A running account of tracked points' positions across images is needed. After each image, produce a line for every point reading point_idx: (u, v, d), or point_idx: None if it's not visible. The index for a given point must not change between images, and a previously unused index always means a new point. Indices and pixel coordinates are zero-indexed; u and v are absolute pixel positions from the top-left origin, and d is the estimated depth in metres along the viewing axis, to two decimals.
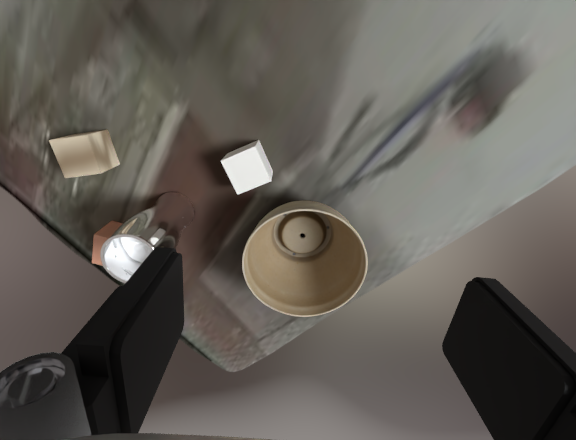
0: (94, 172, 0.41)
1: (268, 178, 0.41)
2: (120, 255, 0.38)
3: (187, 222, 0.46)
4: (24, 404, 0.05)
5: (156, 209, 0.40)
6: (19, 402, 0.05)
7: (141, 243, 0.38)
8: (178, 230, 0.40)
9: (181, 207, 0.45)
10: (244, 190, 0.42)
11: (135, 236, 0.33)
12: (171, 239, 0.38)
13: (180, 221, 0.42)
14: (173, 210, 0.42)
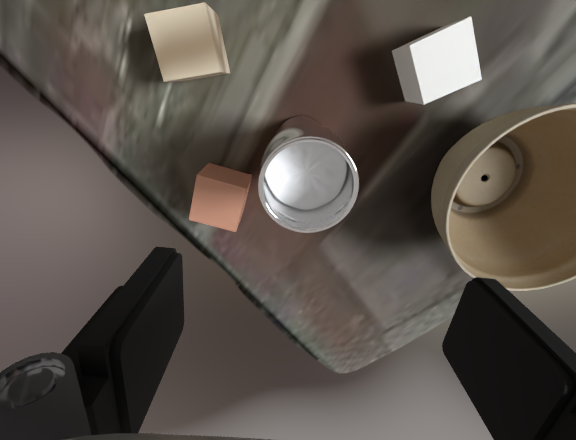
0: (209, 70, 0.26)
1: (478, 74, 0.26)
2: (266, 191, 0.24)
3: None
4: (24, 404, 0.05)
5: None
6: (19, 402, 0.05)
7: (300, 171, 0.23)
8: None
9: None
10: (436, 96, 0.27)
11: (328, 140, 0.19)
12: None
13: None
14: None
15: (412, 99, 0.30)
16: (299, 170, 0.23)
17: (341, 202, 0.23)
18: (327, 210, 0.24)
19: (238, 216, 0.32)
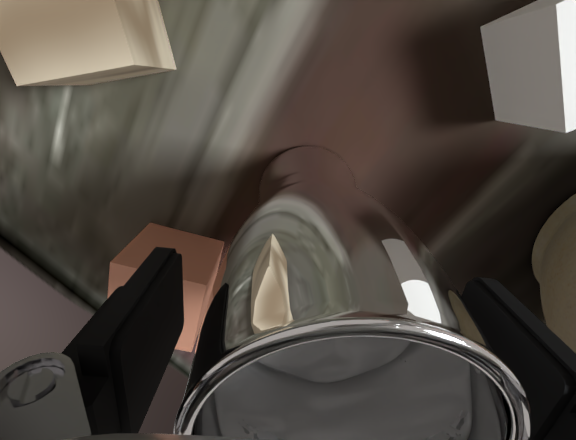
0: (111, 62, 0.12)
1: None
2: None
3: None
4: (24, 404, 0.05)
5: (331, 180, 0.11)
6: (19, 402, 0.05)
7: None
8: None
9: (350, 182, 0.16)
10: None
11: (443, 333, 0.05)
12: None
13: None
14: None
15: (522, 119, 0.15)
16: None
17: (422, 406, 0.09)
18: (379, 406, 0.10)
19: (194, 329, 0.18)
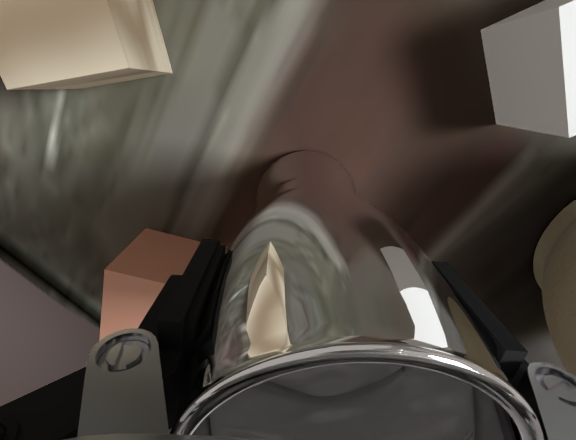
0: (105, 65, 0.12)
1: None
2: None
3: None
4: (117, 370, 0.06)
5: (330, 187, 0.11)
6: (113, 367, 0.06)
7: None
8: None
9: (349, 188, 0.16)
10: None
11: (451, 359, 0.04)
12: None
13: None
14: None
15: (524, 123, 0.15)
16: None
17: (425, 423, 0.08)
18: (380, 422, 0.09)
19: None
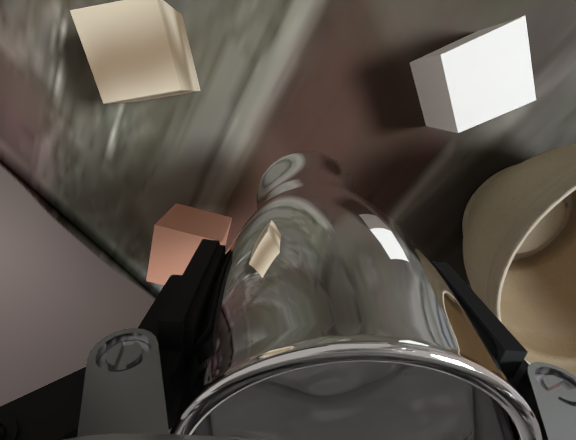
0: (166, 88, 0.19)
1: (532, 94, 0.19)
2: None
3: None
4: (117, 370, 0.06)
5: (330, 187, 0.11)
6: (113, 367, 0.06)
7: None
8: None
9: (349, 188, 0.16)
10: (474, 123, 0.20)
11: (449, 357, 0.04)
12: None
13: None
14: None
15: (438, 124, 0.23)
16: None
17: (425, 422, 0.08)
18: (380, 421, 0.09)
19: None
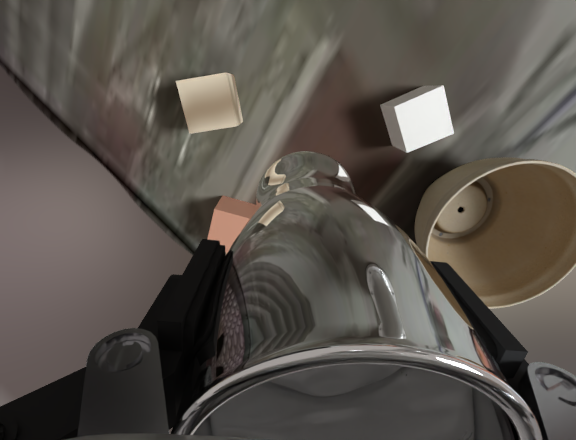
0: (228, 125, 0.31)
1: (451, 129, 0.32)
2: None
3: None
4: (117, 370, 0.06)
5: (330, 188, 0.11)
6: (113, 368, 0.06)
7: None
8: None
9: (349, 188, 0.16)
10: (417, 146, 0.33)
11: (450, 360, 0.04)
12: None
13: None
14: None
15: (397, 146, 0.35)
16: None
17: (425, 423, 0.08)
18: (380, 422, 0.09)
19: None
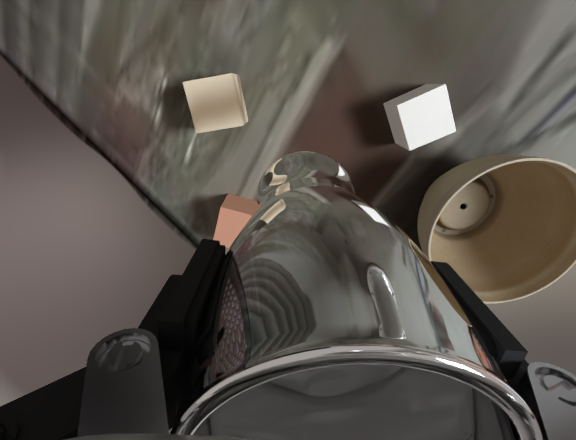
0: (234, 124, 0.32)
1: (453, 127, 0.32)
2: None
3: None
4: (117, 370, 0.06)
5: (330, 187, 0.11)
6: (113, 367, 0.06)
7: None
8: None
9: (349, 188, 0.16)
10: (419, 144, 0.33)
11: (449, 360, 0.04)
12: None
13: None
14: None
15: (400, 143, 0.36)
16: None
17: (425, 424, 0.08)
18: (380, 422, 0.09)
19: None
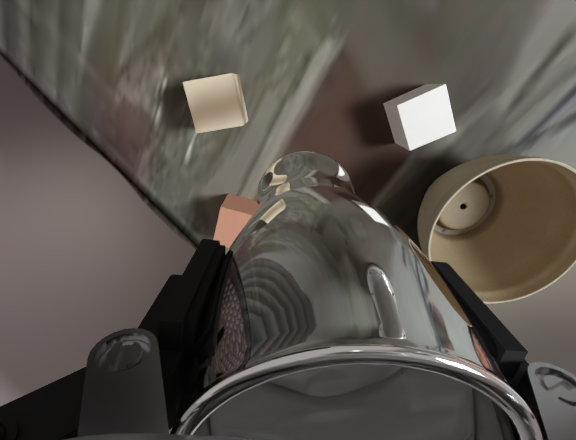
0: (234, 124, 0.32)
1: (453, 127, 0.32)
2: None
3: None
4: (117, 370, 0.06)
5: (330, 187, 0.11)
6: (113, 367, 0.06)
7: None
8: None
9: (349, 188, 0.16)
10: (419, 144, 0.33)
11: (449, 360, 0.04)
12: None
13: None
14: None
15: (400, 143, 0.36)
16: None
17: (425, 424, 0.08)
18: (380, 422, 0.09)
19: None
